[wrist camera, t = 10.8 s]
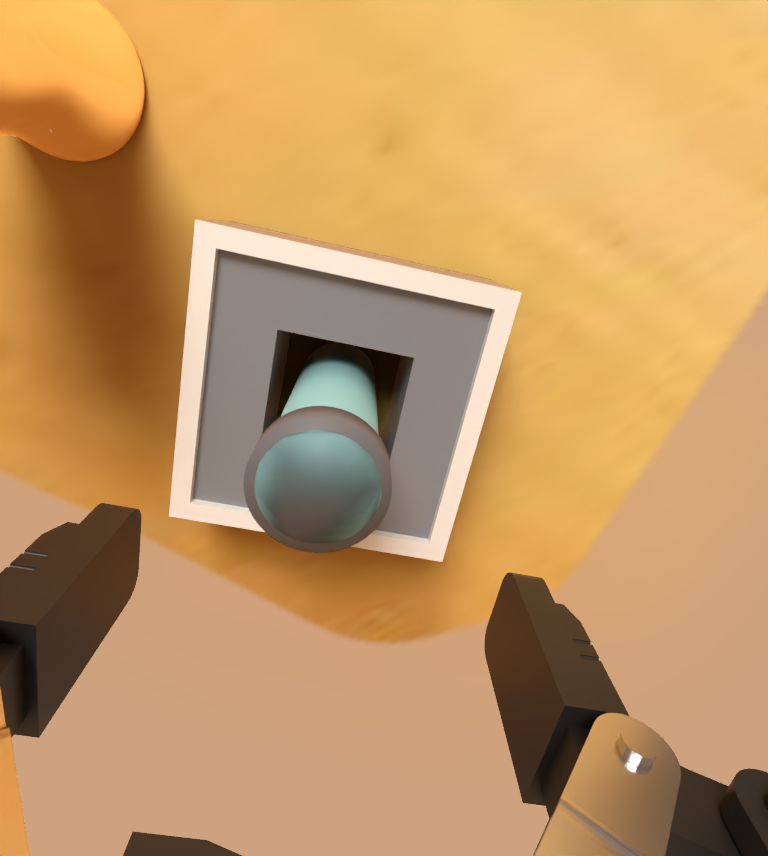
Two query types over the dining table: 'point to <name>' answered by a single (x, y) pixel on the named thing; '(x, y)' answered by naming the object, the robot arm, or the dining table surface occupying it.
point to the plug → (323, 457)
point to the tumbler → (68, 78)
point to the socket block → (346, 323)
